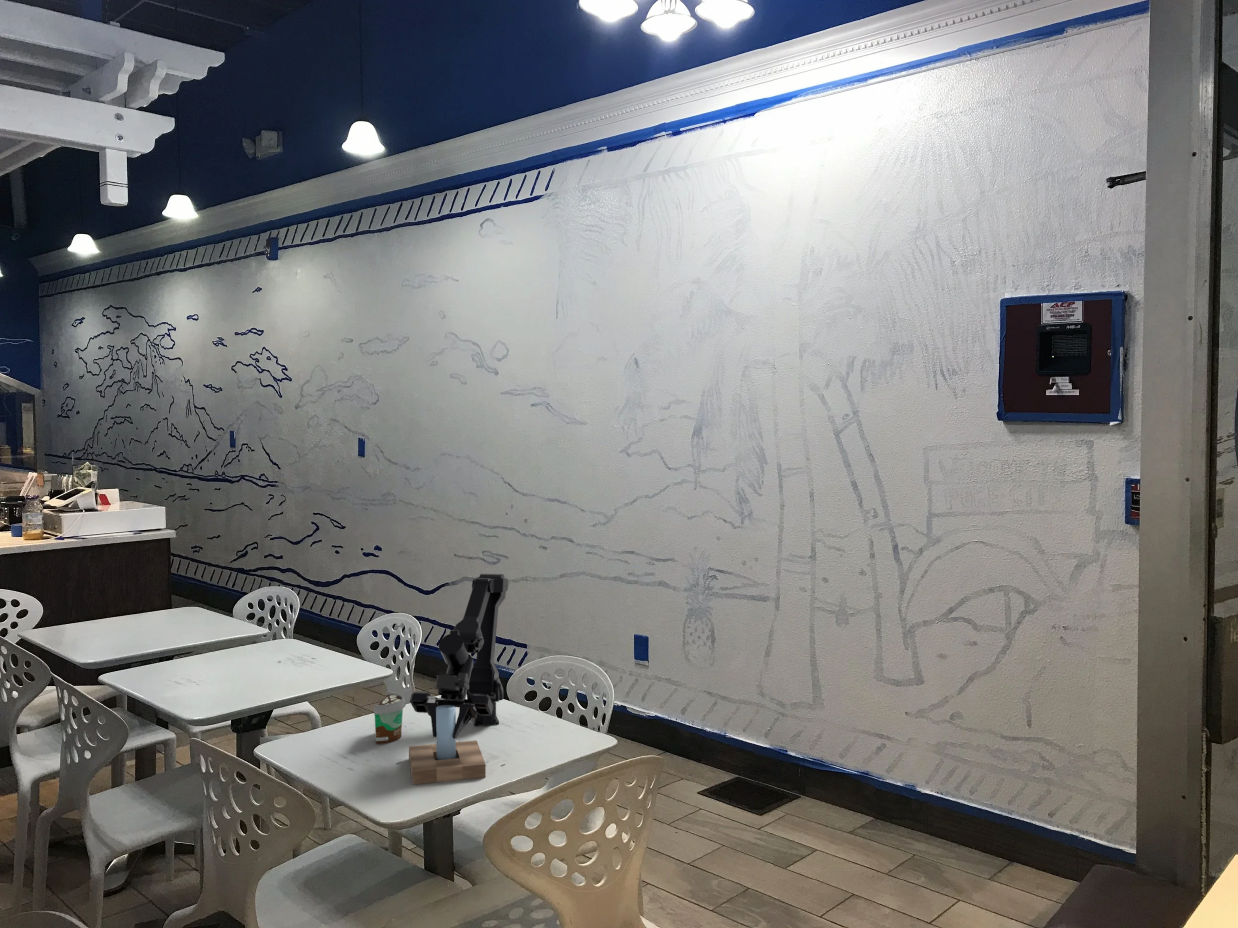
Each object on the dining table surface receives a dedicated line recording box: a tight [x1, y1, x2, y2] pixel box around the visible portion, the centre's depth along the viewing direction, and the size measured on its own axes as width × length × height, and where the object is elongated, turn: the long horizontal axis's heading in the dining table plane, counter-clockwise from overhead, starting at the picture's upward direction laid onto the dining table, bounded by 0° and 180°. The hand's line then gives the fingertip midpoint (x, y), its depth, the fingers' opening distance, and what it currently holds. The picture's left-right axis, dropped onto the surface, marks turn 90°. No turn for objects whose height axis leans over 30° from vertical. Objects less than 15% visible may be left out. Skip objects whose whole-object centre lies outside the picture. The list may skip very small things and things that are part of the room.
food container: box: [373, 691, 406, 745], centre depth 242 cm, size 12×6×10 cm, turn 179°
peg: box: [435, 705, 457, 760], centre depth 222 cm, size 4×4×14 cm
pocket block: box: [408, 739, 487, 785], centre depth 222 cm, size 16×16×3 cm
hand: (444, 737), depth 220 cm, fingers closed on peg, 4 cm apart
